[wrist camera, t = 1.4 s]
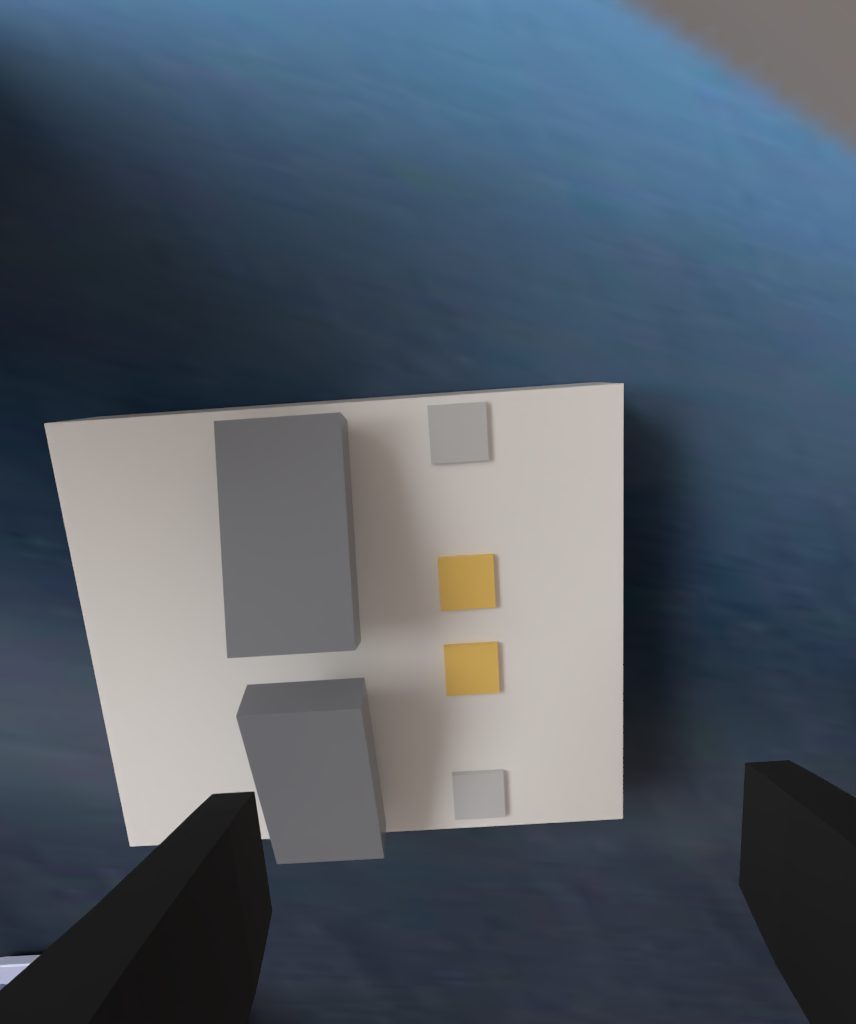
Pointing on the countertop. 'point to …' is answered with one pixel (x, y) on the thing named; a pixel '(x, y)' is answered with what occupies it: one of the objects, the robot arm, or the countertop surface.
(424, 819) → the console
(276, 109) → the countertop surface
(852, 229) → the countertop surface
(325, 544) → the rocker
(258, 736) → the block
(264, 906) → the robot arm
